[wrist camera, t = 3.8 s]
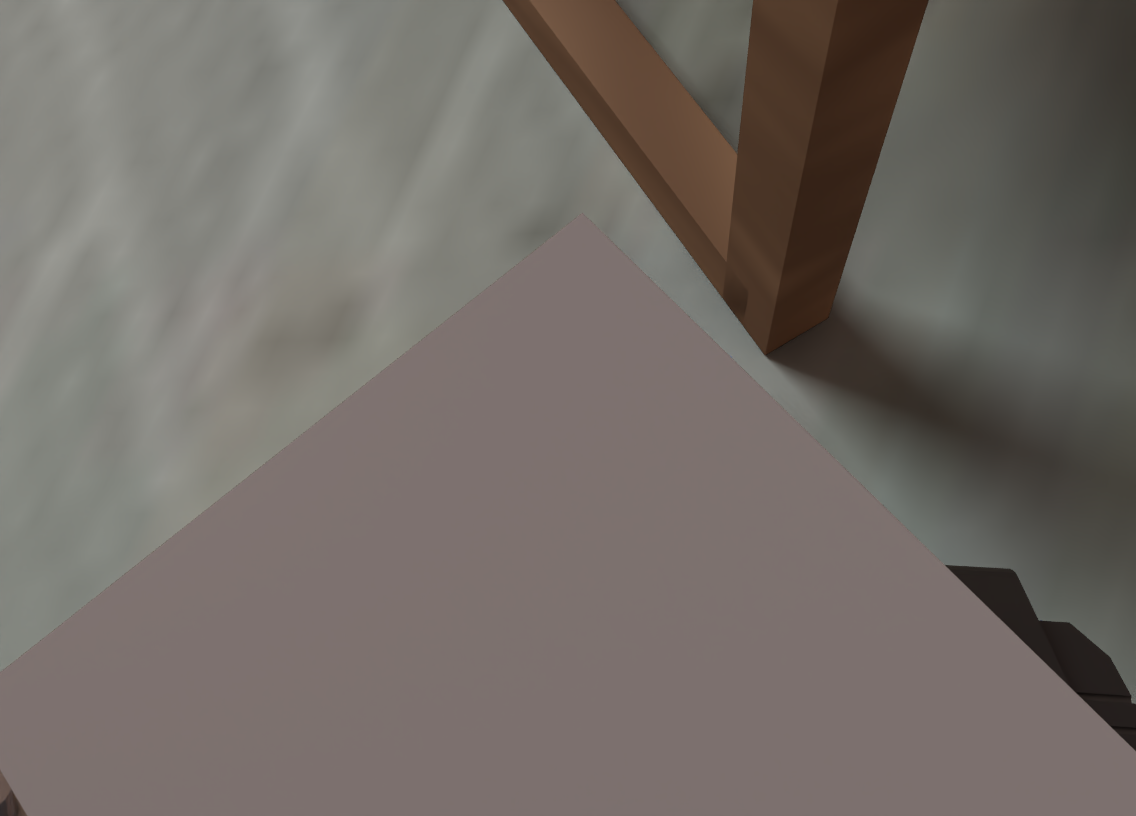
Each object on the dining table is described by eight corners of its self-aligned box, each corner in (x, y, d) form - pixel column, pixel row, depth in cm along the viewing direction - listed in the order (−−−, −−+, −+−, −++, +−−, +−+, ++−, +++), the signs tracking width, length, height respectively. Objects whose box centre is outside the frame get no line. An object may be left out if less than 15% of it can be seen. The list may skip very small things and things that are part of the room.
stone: (604, 1058, 14) (465, 1557, 4) (395, 775, 15) (-40, 703, 6) (855, 814, 14) (1190, 801, 5) (633, 567, 16) (582, 212, 7)
